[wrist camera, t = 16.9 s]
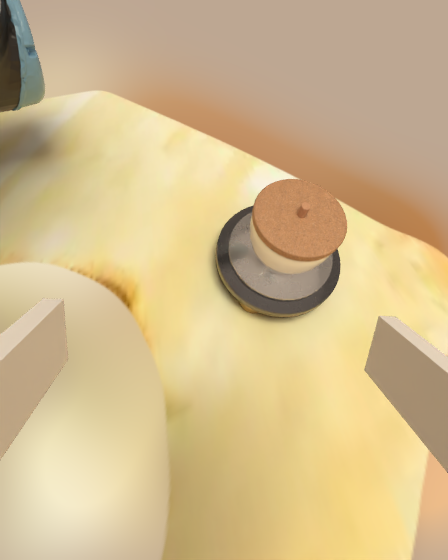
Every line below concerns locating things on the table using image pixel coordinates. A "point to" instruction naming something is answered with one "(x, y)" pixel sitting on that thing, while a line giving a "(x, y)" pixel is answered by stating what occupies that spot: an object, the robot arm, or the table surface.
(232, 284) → the base
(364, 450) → the table surface
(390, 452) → the table surface
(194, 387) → the table surface
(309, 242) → the lidded jar
